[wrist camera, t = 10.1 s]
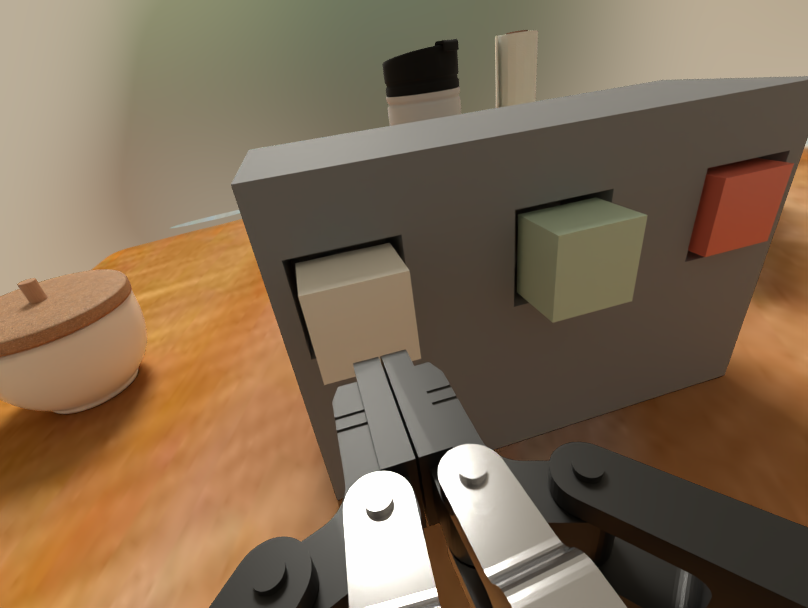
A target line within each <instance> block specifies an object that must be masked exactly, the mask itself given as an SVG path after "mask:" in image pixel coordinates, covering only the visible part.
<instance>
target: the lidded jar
mask: <svg viewBox="0 0 808 608" xmlns="http://www.w3.org/2000/svg"><path fill="white" fill-rule="evenodd" d="M17 285H18V287H19V288H20V289H18V290H15V291H12V292H10V293H7V294H5V295H3V296H0V400H2V401H4V402H6V403H8V404H11V405H13V406H17V407H21V408H24V409H28V410H36V411H53V412H54V413H57V414H71V413H77V412H81V411H84V410H87V409H90V408H93V407H95V406H98V405H100V404H102V403H104V402H106V401H108V400H109V399H111V398H113V397H115V396H116V395H118V394H119V393H120V392H122V391H123V390H124V389H126V388H127V387H128V386H129V385H130V384H131V383H132V382H133V381H134V379H135V378H136V376H137V374H138V371H139V370H138V367H139V365H140V363H141V361H142V359H143V357H144V354H145V351H146V346H147V329H146V324H145V320H144V316H143V313H142V310H141V308H140V306H139V303H138V301H137V299H136V297H135V295H134V293H133V292H132V288H131V284H130V282H129V280H128V278H127V276H126V275H125V274H123V273H121V272H119V271H116V270H107V269H106V270H91V271H83V272H78V273H72V274H68V275H63V276H59V277H55V278H52V279H48V280H44V281H41V282H38V281H37V280H36V279H35V278H31V279H27V280H24V281H21V282H19V283H18V284H17Z"/></svg>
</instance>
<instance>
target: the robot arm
mask: <svg viewBox="0 0 808 608" xmlns="http://www.w3.org/2000/svg"><path fill="white" fill-rule="evenodd" d="M380 360H381V362H380ZM353 367H354V371H355V375H356V380H357V382H354V383H351V384H347V385H343V386H340V387H338V388H337V391H336V393H335V396H334V399H333V402H332V404H333V410H334V417H335V423H336V429H337V435H338V441H339V448H340V454H341V460H342V466H343V472H344V479H345V495H344V499H343V502H342V504H341V506H340V508H339V510H338V511H337V513H336V514H335V515H334V517H333V518H332V519H331V520H330V521H329V522H328V523H327V524H326V525H324V526H323V527H322V528H320V529H319V530H318V531H316V532H315V533H313V534H312V535H310V536H309V537H307V538H306V539H305V540H303V541H302V542H300V541H299V540H297V539H295V538H291V537H276V538H273V539H270V540H267V541H265V542H263V543H261V544H260V545H258V546H257V547H255V548H254V549H253V550H252V551H250V552H249V553H248V554H247V555H246V556H245V558H244V559H243V560H242V561H241V563H240V564H239V565H238V567H237V568H236V570H235V571H234V573H233V574H232V575H231V577H230V578H229V580H228V581H227V583H226V584H225V585H224V587H223V588H222V590H221V591H220V593H219V594H218V595H217V597H216V598H215V600H214V601H213V603H212V604H211V605H210V607H209V608H441V605H440V602H439V598H438V594H437V590H436V586H435V582H434V578H433V573H432V569H431V565H430V561H429V556H428V552H427V546H426V541H425V535H424V529H423V528H426V527H427V525H426V519H425V514H426V517H427V520H428V523H429V526H431V525H434V524H437V523H440V525H441V527H442V530H443V533H444V536H445V538H446V541H447V549H448V555H449V558H450V561H451V563H452V565H453V568H454V570H455V572H456V575H457V577H458V579H459V581H460V584H461V586H462V588H463V590H464V593H465V595H466V597H467V600H468V602H469V604H470V606H471V608H808V527H805V526H803V525H800V524H798V523H795V522H792V521H790V520H787V519H785V518H782V517H780V516H777V515H774V514H772V513H769V512H767V511H764V510H762V509H759V508H756V507H754V506H751V505H749V504H746V503H744V502H741V501H738V500H736V499H733V498H731V497H728V496H725V495H723V494H720V493H718V492H715V491H713V490H710V489H707V488H705V487H702V486H700V485H697V484H695V483H692V482H689V481H687V480H684V479H682V478H679V477H677V476H674V475H671V474H669V473H666V472H664V471H661V470H659V469H656V468H653V467H651V466H648V465H646V464H643V463H640V462H638V461H635V460H633V459H630V458H628V457H625V456H622V455H620V454H617V453H615V452H612V451H610V450H607V449H604V448H602V447H599V446H597V445H593V444H590V443H585V442H571V443H566V444H564V445H561V446H560V447H558V448H557V449H556V450H555V451H554V452H553V454H552V455H551V458H550V461H516V460H511V459H507V458H504V457H502V456H499V455H498V454H497V453H496V452H495V451H493V450H492V449H490V448H488V447H487V446H486V445H485V444H484V443H483V441H482V440H481V438H480V436H479V435H478V433H477V431H476V429H475V428H474V426H473V424H472V422H471V421H470V419H469V417H468V415H467V414H466V412H465V410H464V408H463V407H462V405H461V403H460V401H459V400H458V398H457V397H456V394H455V393H454V391H453V389H452V387H450V384H449V382H448V380H447V378H446V377H445V375H444V373H443V371H441V370H440V369H438V368H437V367H435V366H434V365H432V364H431V363H430V362H427V363H423V364H420V365H416V366H414V365H413V363H412V360H411V358H410V356H409V354H408V352H407V350H406V349H405V350H401V351H397V352H393V353H389V354H386V355H382V356H380V359H379V357H375V358H371V359H367V360H363V361H360V362H356V363H353ZM424 511H425V513H424Z"/></svg>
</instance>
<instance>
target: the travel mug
mask: <svg viewBox="0 0 808 608" xmlns="http://www.w3.org/2000/svg"><path fill="white" fill-rule="evenodd" d="M457 50H458V40H457V39H453V40H442V41H437V42H436V43H435V46H433V47H428V48H424V49H420V50H416V51H412V52H409V53H406V54H403V55H400V56H397V57H394V58H392V59H389V60H387V61H385V62H384V63H383V72H384V79H385V84H386V85H387V88H386V95H387V97H386V100H387V103H388V104H389V106H388V115H389V122H390V126H393V125H399V124H405V123H411V122H417V121H423V120H429V119H435V118H441V117H447V116H453V115H459V114H461V102H460V97H459V96H458V94H459V93H460V87H459V79H458V78H457V74H458V59H457Z"/></svg>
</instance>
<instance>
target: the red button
mask: <svg viewBox="0 0 808 608" xmlns="http://www.w3.org/2000/svg"><path fill="white" fill-rule="evenodd" d="M793 165H794V163H789V162H782V161H775V160H768V159H761V158H752V159H748V160H743V161H738V162H734V163H729V164H725V165H720V166H715V167H711V168H708V169H707V173H706V177H705V182H704V186H703V190H702V194H701V198H700V202H699V206H698V210H697V214H696V219H695V223H694V227H693V231H692V235H691V239H690V243H689V247H688V251H691V252H693V253H696V254H698V255H701V256H703V257H708V256H711V255H715V254H719V253H723V252H727V251H731V250H734V249H738V248H742V247H746V246H750V245H754V244H757V243H761V242H765V241H768V238H769V235H770V232H771V229H772V226H773V223H774V220H775V218H776V215H777V212H778V209H779V206H780V203H781V200H782V197H783V194H784V191H785V189H786V186H787V183H788V180H789V177H790V174H791V171H792V168H793Z"/></svg>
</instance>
